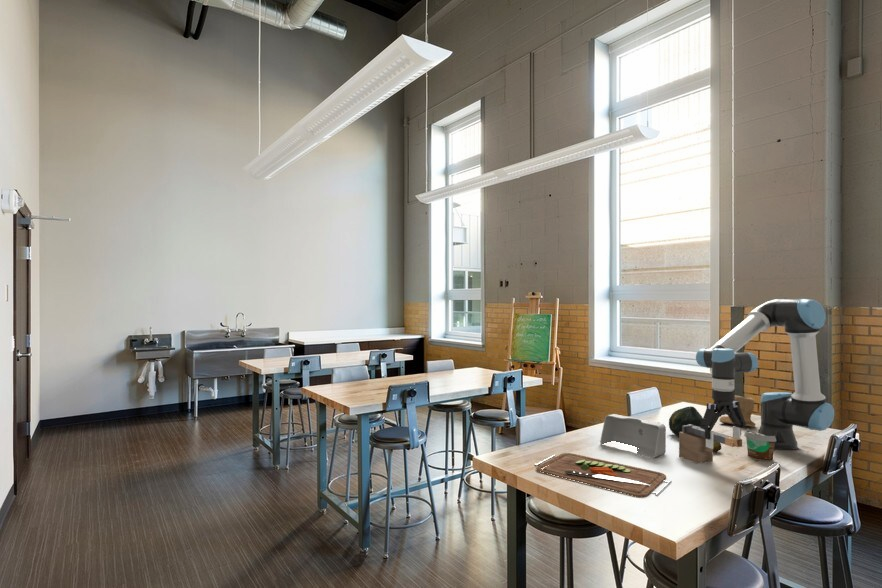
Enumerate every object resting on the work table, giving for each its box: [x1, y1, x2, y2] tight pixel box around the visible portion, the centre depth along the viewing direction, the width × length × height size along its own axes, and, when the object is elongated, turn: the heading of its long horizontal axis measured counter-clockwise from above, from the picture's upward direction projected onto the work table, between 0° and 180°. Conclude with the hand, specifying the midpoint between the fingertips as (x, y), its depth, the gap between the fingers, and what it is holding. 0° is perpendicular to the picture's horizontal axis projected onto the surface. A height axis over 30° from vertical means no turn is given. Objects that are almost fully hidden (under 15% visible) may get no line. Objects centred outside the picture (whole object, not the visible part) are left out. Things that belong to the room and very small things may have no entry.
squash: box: [668, 405, 705, 437], centre depth 235 cm, size 14×15×15 cm
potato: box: [713, 441, 722, 453], centre depth 214 cm, size 8×13×8 cm, turn 35°
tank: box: [599, 413, 667, 459], centre depth 216 cm, size 25×16×12 cm, turn 39°
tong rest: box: [678, 425, 743, 464], centre depth 195 cm, size 8×23×13 cm, turn 20°
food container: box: [744, 428, 776, 462], centre depth 204 cm, size 12×6×10 cm, turn 21°
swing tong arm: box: [686, 424, 737, 448], centre depth 194 cm, size 2×21×3 cm, turn 20°
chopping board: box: [534, 452, 672, 498], centre depth 184 cm, size 45×27×3 cm, turn 51°
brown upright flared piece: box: [719, 394, 756, 427], centre depth 257 cm, size 15×12×15 cm
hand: (723, 446), depth 190 cm, fingers open, 13 cm apart
